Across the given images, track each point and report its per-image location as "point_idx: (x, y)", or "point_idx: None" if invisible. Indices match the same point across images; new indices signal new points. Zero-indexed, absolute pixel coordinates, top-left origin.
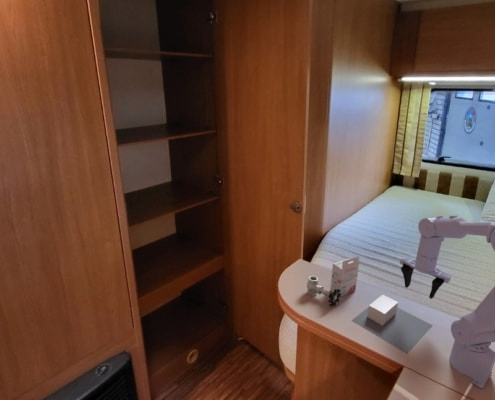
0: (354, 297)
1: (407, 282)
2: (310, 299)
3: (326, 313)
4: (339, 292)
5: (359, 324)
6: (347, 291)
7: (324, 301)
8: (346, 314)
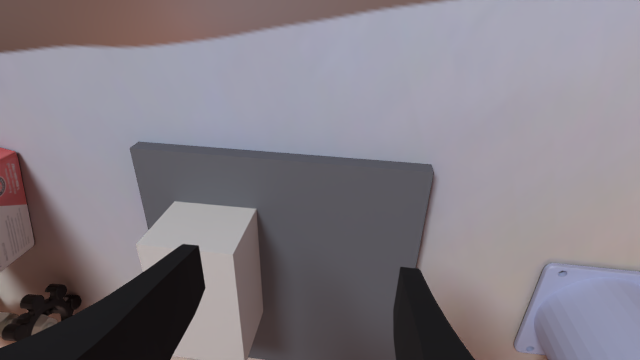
0: (63, 201)
1: (178, 334)
2: None
3: None
4: (25, 332)
5: None
6: (15, 212)
7: None
8: None
